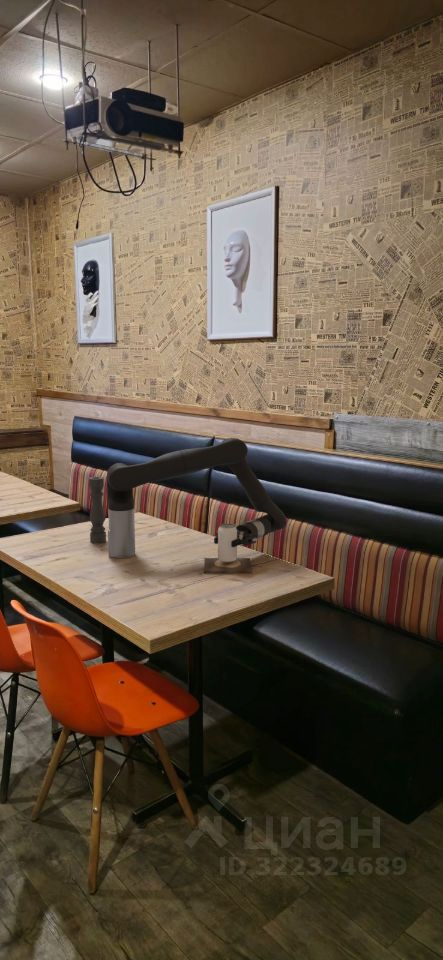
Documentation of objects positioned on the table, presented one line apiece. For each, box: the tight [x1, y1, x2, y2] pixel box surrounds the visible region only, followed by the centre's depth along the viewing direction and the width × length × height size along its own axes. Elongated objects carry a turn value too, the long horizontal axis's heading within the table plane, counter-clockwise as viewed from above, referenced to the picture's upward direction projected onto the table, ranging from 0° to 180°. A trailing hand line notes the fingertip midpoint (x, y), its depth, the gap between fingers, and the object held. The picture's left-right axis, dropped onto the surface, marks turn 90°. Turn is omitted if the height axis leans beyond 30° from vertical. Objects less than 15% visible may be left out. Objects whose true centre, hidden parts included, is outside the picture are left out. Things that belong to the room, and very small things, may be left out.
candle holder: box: [88, 476, 107, 544], centre depth 258 cm, size 6×6×25 cm
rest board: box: [203, 557, 253, 574], centre depth 229 cm, size 16×14×1 cm
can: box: [217, 523, 238, 562], centre depth 228 cm, size 6×6×12 cm
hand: (223, 542), depth 226 cm, fingers closed on can, 6 cm apart
